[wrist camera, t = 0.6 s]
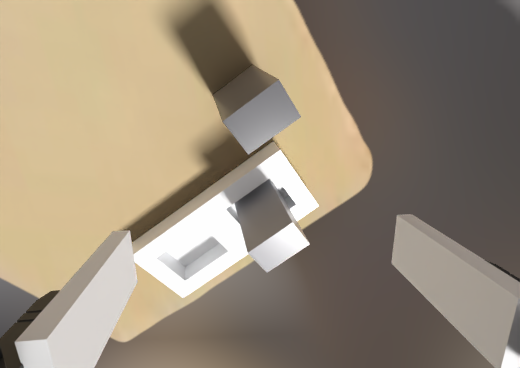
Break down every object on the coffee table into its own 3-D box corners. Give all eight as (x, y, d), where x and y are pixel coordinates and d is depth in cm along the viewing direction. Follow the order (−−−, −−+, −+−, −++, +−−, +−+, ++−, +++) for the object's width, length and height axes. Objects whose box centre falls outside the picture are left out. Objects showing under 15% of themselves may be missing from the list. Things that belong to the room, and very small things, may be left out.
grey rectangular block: (212, 94, 36) (222, 121, 26) (252, 64, 36) (278, 79, 25) (231, 120, 38) (248, 154, 28) (269, 92, 38) (301, 116, 27)
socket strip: (133, 241, 43) (114, 312, 33) (273, 140, 41) (304, 181, 30) (183, 281, 49) (182, 353, 38) (310, 194, 46) (347, 245, 35)
